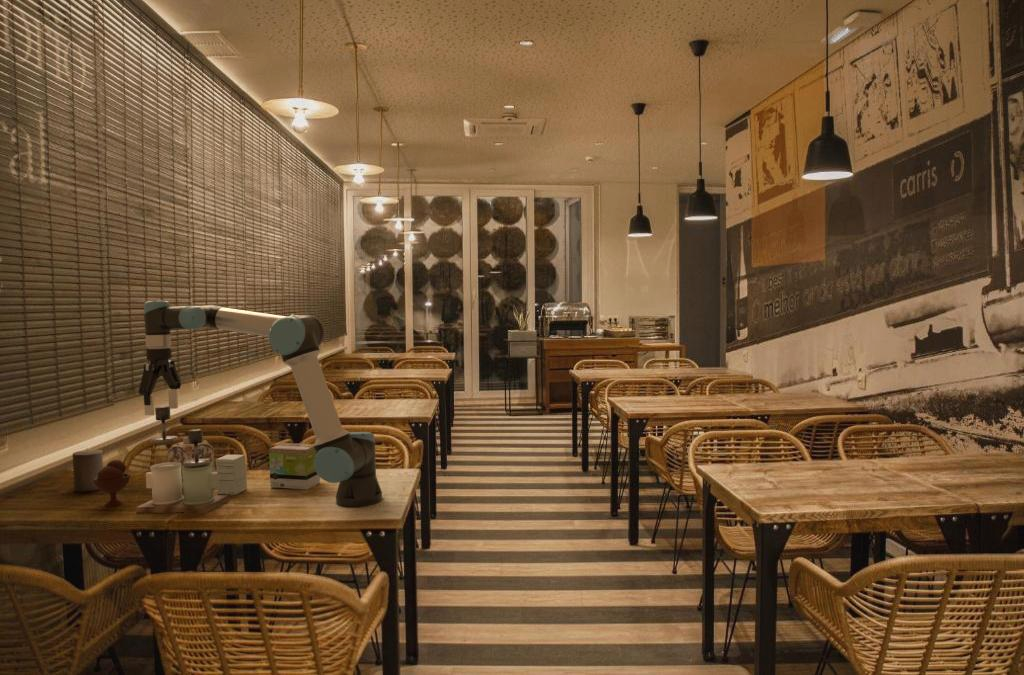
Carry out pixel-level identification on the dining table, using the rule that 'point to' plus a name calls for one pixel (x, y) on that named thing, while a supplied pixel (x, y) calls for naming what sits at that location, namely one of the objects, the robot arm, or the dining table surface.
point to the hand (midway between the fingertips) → (161, 411)
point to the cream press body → (165, 483)
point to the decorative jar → (190, 453)
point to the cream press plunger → (163, 425)
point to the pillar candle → (86, 469)
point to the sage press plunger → (196, 448)
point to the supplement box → (231, 474)
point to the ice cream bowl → (112, 480)
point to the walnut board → (182, 506)
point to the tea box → (293, 466)
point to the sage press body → (199, 484)
